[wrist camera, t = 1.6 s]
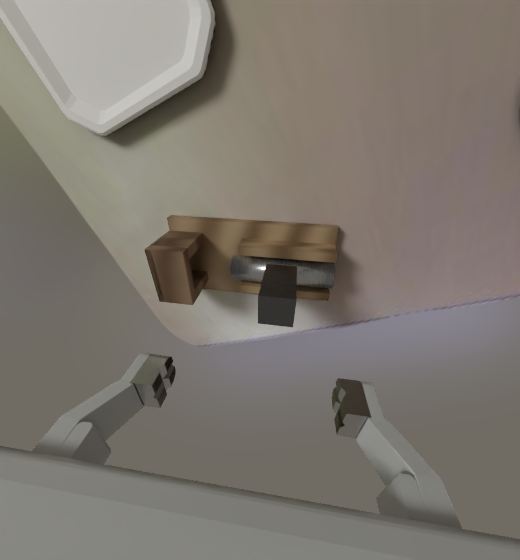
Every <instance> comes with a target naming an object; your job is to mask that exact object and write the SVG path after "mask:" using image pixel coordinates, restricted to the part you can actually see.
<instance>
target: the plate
mask: <svg viewBox="0 0 520 560" xmlns="http://www.w3.org/2000/svg"><path fill="white" fill-rule="evenodd" d="M0 18H1V19H2V21H3V23H4V24H5V26H6V27H7V29H8V30H9V32H10V33H11V35H12V36H13V38H14V39H15V41H16V42H17V44H18V45H19V47H20V48H21V50H22V51H23V53H24V54H25V56H26V57H27V59H28V60H29V62H30V63H31V65H32V66H33V68H34V69H35V71H36V72H37V74H38V75H39V77H40V78H41V80H42V82H43V83H44V85H45V86H46V88H47V89H48V91H49V92H50V94H51V95H52V97H53V98H54V100H55V101H56V103H57V104H58V106H59V107H60V109H61V110H62V112H63V113H64V115H65V116H66V117H67V118H68V119H69V120H70V121H71V122H74V123H76V124H78V125H80V126H82V127H84V128H86V129H88V130H90V131H92V132H94V133H96V134H98V135H100V136H107V135H109V134H111V133H112V132H114V131H116V130H117V129H119V128H121V127H122V126H124V125H126V124H127V123H129V122H131V121H132V120H134V119H136V118H137V117H139V116H141V115H142V114H144V113H146V112H147V111H149V110H151V109H152V108H154V107H156V106H157V105H159V104H161V103H162V102H164V101H166V100H167V99H169V98H170V97H172V96H174V95H175V94H177V93H179V92H180V91H182V90H184V89H185V88H187V87H189V86H190V85H192V84H194V83H195V82H197V81H199V80H200V79H202V77H203V76H204V74H205V72H206V67H207V62H208V58H209V53H210V48H211V44H212V39H213V34H214V30H215V25H216V22H215V12H214V9H213V6H212V3H211V0H0Z"/></svg>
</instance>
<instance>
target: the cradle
mask: <svg viewBox="0 0 520 560" xmlns="http://www.w3.org/2000/svg"><path fill="white" fill-rule="evenodd" d="M167 220H168V225H169V229H170V231H168V232H167V233H166V234H164V235H163V236H162V237H160V238H159V239H158V240H157V241H155V242H154V243H153V244H151V245H150V246H149V247H147V248H146V249H145V253H146V256H147V260H148V263H149V267H150V270H151V274H152V277H153V280H154V284H155V287H156V291H157V294H158V297H159V301H161V302H170V303H179V304H189V305H193V304H194V302H195V301H196V299H197V297H198V296H199V294H200V292H201V291H202V289H213V290H223V291H234V292H244V293H254V294H259V291H260V287H261V283H262V282H255V281H244V280H233V279H231V275H230V266H231V260H232V257H233V255H244V256H257V257H269V258H282V259H294V260H307V261H319V262H332V263H337V259H338V252H337V248H336V245H335V244H336V239H337V235H338V230H339V228H338V226H337V225H320V224H304V223H288V222H271V221H255V220H239V219H223V218H206V217H190V216H174V215H171V216H169V217H168V218H167ZM296 298H304V299H314V300H327V301H328V299H329V288H320V287H309V286H298V285H297V293H296Z"/></svg>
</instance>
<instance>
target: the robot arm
mask: <svg viewBox="0 0 520 560" xmlns="http://www.w3.org/2000/svg"><path fill="white" fill-rule="evenodd" d="M172 362H173V359H172V357H169V356H162V355H156V354H149V353H141V354H139V355H138V357H137V358H136V359H135V361H134V362H133V364H132V365H131V366H130V368H129V369H128V371H127V372H126V373H125V375H124V376H123V378H122V379H121V380H120V382H119V381H116V382H115V383H113V384H112V385H110V386H108V387H107V388H105V389H104V390H102V391H100V392H99V393H97V394H96V395H94V396H92V397H91V398H89V399H88V400H86V401H85V402H83V403H81V404H80V405H78V406H77V407H75V408H73V409H72V410H71V411H69V412H67V413H66V414H64V415H62V416H61V417H60V418H59V419H58V420H57V422H56V423H55V424H54V425H53V426H52V428H51V429H50V430H49V431H48V432H47V434H46V435H45V436H44V437H43V438H42V439H41V441H40V442H39V443H38V444H37V445H36V447H35V448H34V449H33V450H32V451H27V450H21V449H15V448H10V447H4V446H0V560H520V539H516V538H510V537H505V536H499V535H494V534H487V533H483V532H477V531H471V530H465V529H462V527H461V525H460V522H459V520H458V518H457V515H456V513H455V511H454V508H453V506H452V504H451V501H450V499H449V497H448V494H447V492H446V490H445V487H444V485H443V483H442V480H441V479H440V477H439V476H438V475H437V474H436V473H435V472H434V471H433V470H432V469H431V468H430V466H429V465H428V464H427V463H426V462H425V461H424V460H423V459H422V457H421V456H420V455H419V454H418V453H417V452H416V451H415V450H414V448H413V447H412V446H411V445H410V444H409V443H408V442H407V441H406V440H405V439H404V437H403V436H402V435H401V434H400V433H399V432H398V431H397V429H396V428H394V426H393V425H392V424H391V423H390V422H389V421H388V420H385V418H384V415H383V412H382V409H381V406H380V403H379V400H378V397H377V395H376V391H375V388H374V385H373V384H372V383H370V382H362V381H357V380H348V379H339V378H338V379H337V381H336V387H335V388H334V389H333V393H332V406H333V410H334V411H335V413H336V416H335V426H336V433H337V435H340V436H346V437H351V438H356V440H357V442H358V443H359V445H360V447H361V448H362V450H363V451H364V453H365V454H366V456H367V457H368V459H369V461H370V462H371V464H372V465H373V467H374V468H375V470H376V472H377V473H378V475H379V476H380V478H381V479H382V481H383V482H384V484H385V486H386V488H385V489H384V490H383V491H382V492H381V493H380V494H379V495H378V497H377V498H376V499H377V503H378V508H379V512H380V514H377V513H371V512H366V511H360V510H354V509H349V508H344V507H338V506H332V505H327V504H321V503H316V502H310V501H304V500H299V499H294V498H288V497H282V496H277V495H271V494H266V493H260V492H255V491H249V490H244V489H238V488H232V487H227V486H221V485H216V484H210V483H204V482H198V481H193V480H188V479H182V478H176V477H171V476H166V475H160V474H155V473H149V472H143V471H138V470H132V469H127V468H121V467H115V466H110V465H104V464H105V462H106V460H107V458H108V457H109V455H110V453H111V449H110V447H109V446H108V444H107V443H106V442H105V441H106V440H107V439H108V438H109V437H110V436H111V435H112V434H114V433H115V432H116V431H117V430H118V429H119V428H120V427H121V426H122V425H124V424H125V423H126V422H127V421H128V420H129V419H130V418H131V417H133V416H134V415H135V414H136V413H137V412H138V411H139V410H140V409H142V408H143V406H149V407H157V408H160V407H161V406H162V403H163V401H164V400H165V398H166V395H167V393H166V390H167V389H168V388H169V387H171V385H172V383H173V381H174V378H175V371H176V370H175V367H174V366H173V365H172Z"/></svg>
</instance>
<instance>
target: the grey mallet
mask: <svg viewBox="0 0 520 560" xmlns="http://www.w3.org/2000/svg"><path fill="white" fill-rule="evenodd" d="M230 275H231V279H233V280H244V281H255V282H262V283H261V287H260V291H259V295H258V323H260V324H269V325H278V326H287V327H293V322H294V314H295V306H296V293H297V285H298V286H309V287H320V288H330V289H331V288H332V287H333V284H334V278H335V264H334V263H332V262H319V261H307V260H294V259H282V258H269V257H257V256H244V255H233V257H232V260H231V266H230Z"/></svg>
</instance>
